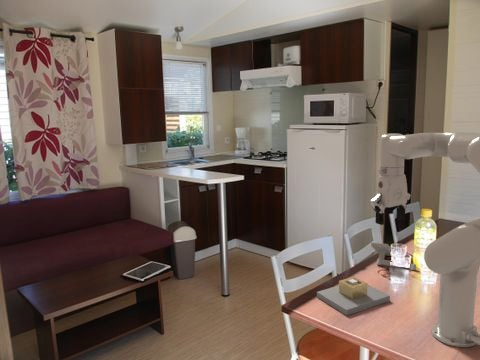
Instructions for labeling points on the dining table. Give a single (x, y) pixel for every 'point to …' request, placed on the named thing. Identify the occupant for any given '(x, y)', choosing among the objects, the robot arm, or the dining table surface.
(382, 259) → the door handle
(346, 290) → the collar
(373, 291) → the post stand
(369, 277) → the dining table surface
